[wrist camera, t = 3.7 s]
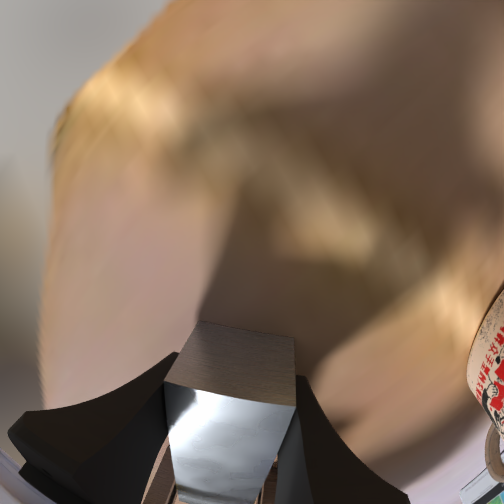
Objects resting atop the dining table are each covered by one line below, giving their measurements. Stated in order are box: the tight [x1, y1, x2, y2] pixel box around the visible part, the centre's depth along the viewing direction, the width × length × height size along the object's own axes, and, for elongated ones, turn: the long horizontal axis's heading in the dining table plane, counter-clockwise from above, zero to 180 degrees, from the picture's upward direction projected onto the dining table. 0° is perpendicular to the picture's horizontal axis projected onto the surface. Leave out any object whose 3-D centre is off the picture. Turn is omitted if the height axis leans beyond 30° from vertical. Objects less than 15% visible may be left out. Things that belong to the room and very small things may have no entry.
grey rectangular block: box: [164, 321, 296, 504], centre depth 11 cm, size 11×4×4 cm, turn 172°
